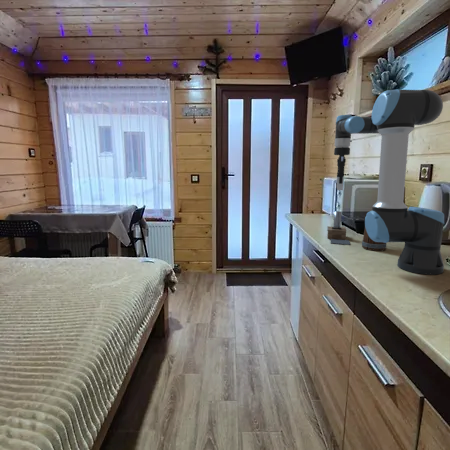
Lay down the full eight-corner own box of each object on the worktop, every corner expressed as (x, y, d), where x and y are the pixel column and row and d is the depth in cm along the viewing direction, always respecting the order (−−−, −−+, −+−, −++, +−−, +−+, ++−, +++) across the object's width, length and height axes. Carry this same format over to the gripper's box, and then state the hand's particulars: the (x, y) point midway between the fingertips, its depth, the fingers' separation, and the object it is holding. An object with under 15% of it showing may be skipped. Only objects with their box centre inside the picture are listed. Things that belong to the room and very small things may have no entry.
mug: (388, 251, 146) (392, 219, 143) (364, 250, 148) (366, 218, 145) (379, 243, 161) (382, 213, 158) (357, 242, 163) (359, 213, 160)
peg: (339, 238, 171) (341, 212, 168) (332, 238, 172) (334, 212, 169) (339, 237, 174) (341, 211, 172) (332, 236, 175) (334, 211, 173)
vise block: (345, 240, 168) (346, 230, 167) (326, 238, 170) (327, 229, 169) (344, 236, 176) (345, 227, 175) (326, 235, 179) (327, 226, 178)
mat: (350, 244, 158) (350, 244, 158) (330, 243, 160) (330, 242, 160) (348, 240, 166) (348, 239, 166) (330, 239, 169) (330, 238, 169)
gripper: (352, 146, 151) (348, 191, 155) (348, 147, 175) (345, 187, 179) (335, 146, 153) (332, 191, 158) (333, 148, 177) (331, 186, 181)
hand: (339, 189), depth 168 cm, fingers open, 13 cm apart
